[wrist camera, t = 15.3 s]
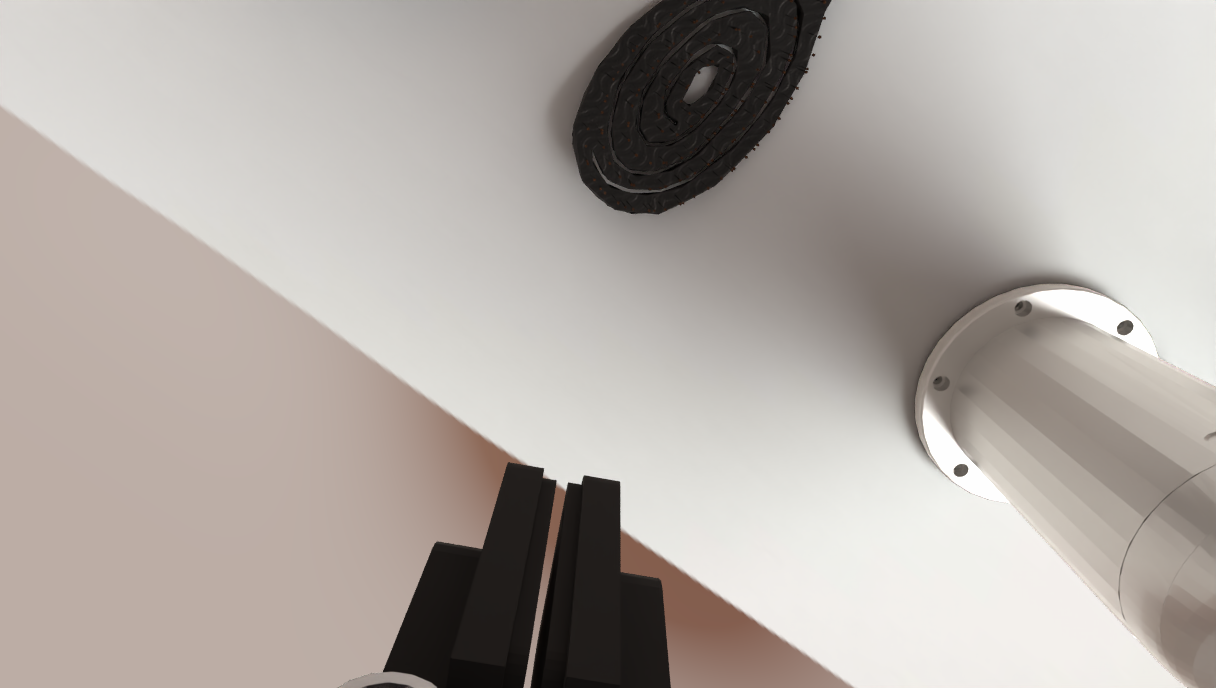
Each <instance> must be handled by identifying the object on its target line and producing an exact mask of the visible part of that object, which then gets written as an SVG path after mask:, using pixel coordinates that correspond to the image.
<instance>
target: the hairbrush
mask: <svg viewBox="0 0 1216 688" xmlns="http://www.w3.org/2000/svg"><path fill="white" fill-rule="evenodd" d="M696 1H698V0H663V1H662V2H660V3H659V4H658V5H656V6H655V7H654V8H652V9H651V10H650V11H649V12H647V13H646V14H645V15H644V16H643V17H641V18H640V19H639V20H638V21H636V22H635V23H634V24H633V25H632V26H631V27H630V28H629V29H628V30H627V31H626V32H625V33H624V35H623V36H622V37H621V38H620V39H619V41H618V42H617V43H616V45H615V46H614V47H613V49H612V50H611V51H610V53H609V54H608V55H607V56H606V58H605V59H604V60H603V61H602V62H601V63H600V65H599V66H598V69H597V70H596V72H595V74H594V76H593V78H592V80H591V82H590V83H589V85H588V87H587V89H586V91H585V93H584V96H583V99H582V102H581V104H580V107H579V110H578V113H577V116H576V119H575V122H574V125H573V133H572V136H573V143H572V144H573V148H574V152H575V156H576V160H577V164H578V168H579V172H580V175H581V178H582V181H583V182H584V183H585V185H586V186H587V187H588V188H589V189H590V190H591V191H592V192H593V193H594V194H595V195H596V196H597V197H598V198H599V199H600V200H602V201H603V202H605V203H606V204H607V206H610V207H612V208H613V209H615V210H619V211H625V212H628V213H631V214H637V213H649V214H660V213H662V212H664V211H667V210H669V209H671V208H673V207H675V206H677V205H682V204H684V202H686V201H688V200H690V199H691V198H693V197H694V198H695V196H697V195H699V194H701V193H703V192H704V191H706V190H709V189H710V188H712V187H714V186H715V185H716V184H717V183H718V182H720V181H721V180H722V179H723V178H724V177H725V176H726V175H727V174H728V173H729V172H730V171H732V172H733V170H735V169H736V168H735V166H736V165H737V164H738V163H739V162H740V161H741V160H742V159H743V158H744V157H745V158H746V159H747V158H748V156H746V155H747V154H748V153H749V152H750V151H751V150H752V149H753V150H754V151H755V148H754V146H755V145H756V146H759V144H757V143H758V142H759V141H760V140H761V139H762V138H763V137H764V136H765V135H766V134H767V133H770V130H771V129H772V128H773V127H774V125H775V123H776V121H777V119H778V120H781V118H780V117H779V116H780V114H781V112H782V111H783V109H784V107H785V105H786V104H787V105H789V104H790V103H789V102H788V100H789V99H791V100H793V98H792V97H791V95H792V93H793V92H794V90H795V88H796V90H797V89H798V90H799V87H797V85H798V83H799V82H800V80H801V78H802V76H803V75H804V73H806V74H807V73H808V71H805V70H809V69H808V68H806V67H807V64H808V61H809V58H810V55H811V52H812V49H813V46H814V43H815V40H816V37H817V34H818V31H819V28H820V25H821V22H822V19H826V17H824V18H823V16H824V13H825V11H826V9H827V7H828V6H829V4H830V2H831V0H794V1H793V0H709V1H707V2H705V3H703V4H701V5H699V6H697V7H695V8H693V9H691V10H690V11H688V12H687V13H686V14H685V15H683V16H682V17H681V18H679V19H678V20H677V21H676V22H675V23H673V24H672V25H671V26H670V27H668V28H667V29H666V30H665V31H664V32H662V33H661V34H660V35H659V36H658V37H657V38H656V39H655V40H654V41H652V42H651V43H650V44H649V46H648V47H647V48H646V49H645V51H644V52H643V53H642V54H641V56H640V57H639V58H638V60H637V61H636V63H635V64H634V66H633V67H632V69H631V70H630V72H629V74H628V76H627V78H626V80H625V82H624V84H623V86H622V87H621V90H620V92H619V95H618V99H617V102H616V105H615V110H614V115H613V120H612V128H611V137H612V148H613V150H614V151H615V154H616V157H617V159H618V160H619V161H620V162H621V163H622V164H623V165H624V166H625V167H627V168H628V169H630V170H640V171H657V170H659V169H662V168H664V167H666V166H669V165H671V164H674V163H676V162H678V161H680V160H682V159H684V158H687V157H689V156H691V155H692V154H693V153H694V152H695V151H697V149H698V148H699V147H700V145H701V144H702V143H703V142H704V141H705V140H706V139H707V140H709V142H708V143H707V144H706V145H705V147H703V148H702V149H701V150H700V151H699V152H698V153H697V154H696V155H695V156H693V157H692V158H690V159H688V160H686V161H684V162H682V163H680V164H678V165H675V166H673V167H671V168H669V169H667V170H665V171H663V172H660V173H657V174H651V175H643V174H634V173H630V172H628V171H626V170H625V169H623V168H622V167H620V166H619V165H618V164H617V163H615V162H614V160H613V157H612V153H611V148H610V144H609V140H608V124H609V119H610V115H611V111H612V107H613V103H614V99H615V94H616V91H617V89H618V87H619V84H620V82H621V80H622V78H623V76H624V74H625V72H626V70H627V68H628V67H629V65H630V64H631V63H632V61H633V60H634V58H635V57H636V56H637V54H638V53H639V52H640V50H641V49H642V47H643V46H644V45H645V44H646V43H647V41H648V39H649V38H650V37H651V36H653V35H654V34H655V33H656V32H657V31H658V30H659V29H660V28H661V27H662V26H664V25H665V24H666V23H667V22H669V21H670V20H671V19H672V18H673V17H675V16H676V15H677V14H678V13H680V12H681V11H682V10H683V9H685V8H686V7H687V6H689V5H691V4H692V3H694V2H696ZM741 8H746V9H749V10H753V11H756V12H759V14H760V13H761V14H762V15H761V14H760V15H761V16H762V17H763V18H764V20H765V21H766V23H767V25H768V27H769V35H768V46H767V54H766V66H765V67H764V69H763V71H762V73H761V75H760V76H759V78H758V80H757V82H756V84H755V86H754V87H753V85H754V83H752V82H753V81H754V79H755V78H756V76H757V75H758V73H759V72H760V70H761V66H762V60H763V54H764V48H765V42H766V35H767V29H768V27H767V26H765V25H764V24H763V23H762V22H761V21H760V20H759V19H758V18H757V17H756V16H755V15H754V14H753V13H752V12H751V11H746V12H740V13H735V14H731V15H728V16H725V17H722V18H719V19H716V20H713V21H710V22H709V23H708V24H707V25H705V26H704V27H703V28H702V29H701V30H699V31H698V32H697V33H696V34H694V35H693V36H692V37H691V38H690V39H689V40H688V41H687V42H686V43H685V44H684V45H683V46H682V47H681V48H680V49H679V50H678V51H677V52H676V53H675V54H674V55H673V56H672V57H671V58H670V59H669V60H668V61H667V62H666V63H665V64H664V65H663V66H662V67H661V69H660V71H659V72H658V74H657V76H656V77H655V79H654V80H653V82H652V83H651V85H650V86H649V88H648V90H647V92H646V93H645V96H644V97H643V103H642V107H641V110H640V128H639V130H640V132H641V133H642V135H643V136H644V138H645V139H646V140H647V141H648V142H651V143H663V142H668V141H673V140H674V139H676V138H677V137H679V136H680V135H681V134H683V133H684V132H685V131H687V130H688V129H689V128H691V127H692V126H693V125H694V124H696V123H697V122H698V121H699V120H700V119H701V118H703V117H704V116H705V113H706V112H707V111H708V110H709V109H710V108H711V106H712V105H713V104H714V103H715V104H717V102H716V101H717V100H718V99H719V97H720V95H721V94H722V95H724V93H722V91H723V89H724V87H725V85H726V84H727V82H728V80H729V78H730V76H731V74H734V75H733V78H732V81H731V83H730V86H729V89H728V88H725V91H727V90H728V91H727V93H726V94H725V95H724V97H723V98H722V99H721V101H720V102H719V103H718V105H717V106H716V107H715V109H713V110H712V113H711V114H709V115H708V117H707V118H706V119H705V120H704V121H703V122H702V123H701V124H700V125H699V126H697V128H696V129H695V130H694V131H691V132H690V133H689V134H688V135H686V136H685V137H683V138H682V139H680V140H679V141H677V142H675V143H673V144H670V145H666V146H649V145H646V144H645V142H644V141H643V139H642V137H641V136H640V134H639V133H638V131H637V129H636V122H637V113H638V109H639V104H640V100H641V96H642V93H643V90H644V88H645V87H646V85H647V83H648V81H649V80H650V78H651V77H652V75H653V74H654V72H655V71H656V69H657V68H658V66H659V64H660V63H661V61H662V60H663V58H664V57H665V56H666V55H667V54H668V53H669V52H670V50H671V49H672V48H674V47H675V46H676V45H677V44H678V43H679V42H680V41H682V40H683V39H684V38H685V37H686V36H687V35H688V34H689V33H691V32H692V31H693V30H694V29H695V28H696V27H697V26H699V25H700V24H701V23H702V22H704V21H706V20H707V19H709V18H711V17H712V16H714V15H716V14H718V13H721V12H724V11H727V10H734V9H741ZM797 19H798V23H799V26H798V27H797ZM797 28H798V33H797ZM797 35H798V36H797ZM796 37H797V38H796ZM817 38H819V39H820V38H821V36H820V35H819V36H818V37H817ZM795 39H796V40H797V47H796V50H795V52H794V51H793V54H790V52H791V50H792V47H793V44H794V42H795ZM709 44H725V45H728V46H730V47H732V50H733V53H734V55H735V58H736V61H737V67H736V70H735V73H734V72H733V65H734V63H733V54H732V53H730V52H729V51H727V50H726V49H724V48H722V47H720V46H718V45H716V46H715V47H713V48H712V49H710V50H709V51H707V52H706V53H704V54H703V55H701V56H700V57H698V58H697V59H695V60H693V61H692V62H691V63H690V64H689V65H688V66H687V68H686V69H685V70H684V71H683V72H682V74H681V75H680V77H679V78H678V80H677V81H676V83H675V84H674V86H673V87H672V88H671V90H670V93H669V96H668V98H667V100H666V102H665V111H666V113H667V115H668V117H669V118H670V119H671V120H673V121H674V122H676V124H673V123H672V122H670V121H669V120H668V119H667V118H665V117H664V116H663V107H664V96H665V93H666V90H667V89H666V88H668V87H669V86H668V85H669V84H670V83H671V82H672V80H673V79H674V78H675V77H676V76H677V74H678V73H679V72H680V71H681V69H682V68H683V67H684V66H685V64H686V63H687V62H688V61H689V60H690V58H691V57H692V56H693V55H694V54H695V53H696V52H697V51H699V50H700V49H702V48H704V47H705V46H707V45H709ZM795 45H796V42H795ZM794 49H795V47H794ZM789 55H790V56H792V55H793V56H792V59H791V60H790V59H789V60H788V58H789ZM812 56H815V54H814V53H813V54H812ZM787 61H788V62H789V61H790V63H789V65H788V67H787V69H786V71H784V68H785V66H786V63H787ZM711 65H714V66H716V67H718V72H717V75H716V76H715V78H714V80H713V82H712V84H711V85H710V87H709V89H708V91H707V93H706V94H705V95H704V96H703V97H701V98H700V99H699V100H698V101H696V102H695V103H693V104H686V103H685V102H684V101H683V98H684V96H685V94H686V92H687V90H688V88H689V86H690V84H691V82H692V80H693V78H694V76H695V74H696V73H697V72H698V74H700V73H701V72H700V71H699V70H700V69H701V68H703V67H706V66H711ZM782 74H784V75H783V77H782V80H781V82H780V84H779V86H778V89H777V91H776V93H775V95H774V96H773V98H772V99H771V101H770V102H769V104H768V105H767V107H766V108H765V110H764V111H763V112H762V114H761V115H760V117H759V118H758V119H757V120H756V122H755V123H754V124H753V125H752V126H751V127H750V129H749V130H748V131H747V132H746V133H745V134H744V136H743V137H742V138H741V139H740V140H739V141H738V142H737V143H736V144H735V145H734V146H733V147H732V148H731V149H730V150H728V151H727V152H726V153H725V154H724V155H723V156H722V157H720V159H719V160H716V161H715V162H714V163H713V164H711V165H710V164H709V162H713V161H714V160H713V159H715V158H716V157H717V156H719V155H720V154H722V152H723V151H724V150H725V149H726V148H727V147H728V146H729V145H730V144H731V143H733V142H734V141H736V138H737V137H738V136H739V135H740V134H741V133H742V132H743V131H744V130H745V129H746V128H747V127H748V126H749V125H750V124H751V123H752V122H753V120H754V119H755V117H756V116H757V114H758V112H759V111H760V109H761V108H762V106H763V105H764V104H766V103H767V101H766V100H767V98H768V97H769V95H770V94H771V92H772V91H775V89H776V88H777V87H775V86H776V84H777V82H778V81H779V79H780V78H781V76H782ZM751 83H752V85H751ZM750 85H751V86H750ZM749 86H750V87H751V88H753V89H752V91H751V93H750V95H749V96H748V98H747V99H746V100H745V101H743V100H742V101H741V102H744V103H743V104H742V105H741V106H740V108H739V109H738V110H737V109H735V110H734V108H735V107H736V106H737V104H738V103H739V101H740V100H741V98H742V97H743V95H744V94H745V92H746V91H747V89H748V88H749ZM733 110H734V111H735V112H736V113H735V114H734V115H733V114H731V113H732V111H733ZM729 115H731V116H733V117H732V118H731V119H730V120H728V122H727V123H726V124H725V125H724V126H723V127H721V126H720V124H721V123H722V122H723V121H724V120H725V119H726V118H727V117H728V116H729ZM719 126H720V127H719ZM718 127H719V128H720V130H719V131H718V132H717V134H716V132H714V131H715V130H716V129H717V128H718ZM713 132H714V133H713ZM712 133H713V134H714V135H715V136H714V138H712V139H711V140H710V139H709V138H708V137H709V136H710V135H711V134H712ZM592 150H593V153H594V155H595V158H596V160H597V162H598V165H599V167H600V169H601V171H602V173H603V174H604V175H605V176H606V178H607V179H608V180H610V181H611V182H613V183H615V184H618V185H620V186H623V187H625V188H628V189H644V190H661V189H663V188H666V187H668V186H670V185H673V184H675V183H677V182H681V181H682V180H684V179H687V178H689V177H691V176H693V175H695V174H697V173H696V172H698V171H699V170H700V169H702V168H703V167H704V166H706V165H708V166H709V167H708V168H706V169H705V170H704V171H702V172H701V173H700V174H699V175H697V176H696V177H695V178H694V179H692V180H691V181H688V182H686V183H684V184H682V185H679V186H676V187H673V188H671V189H668V190H665V191H662V192H653V193H630V192H626V191H622V190H620V189H618V188H616V187H614V186H611V185H609V184H607V183H606V182H605V180H604V179H603V178H602V176H601V175H600V173H599V171H598V169H597V167H596V166H595V164H594V162H593V160H592Z"/></svg>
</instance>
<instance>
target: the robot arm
mask: <svg viewBox="0 0 1216 688" xmlns="http://www.w3.org/2000/svg"><path fill="white" fill-rule="evenodd" d="M1017 303H1019V304H1018V306H1017V307H1015V306H1016V305H1017ZM937 377H939V378H938V379H937V380H936V381H934V380H935V379H936V378H937ZM915 420H916V425H917V429H918V433H919V437H920V440H921V442H922V444H923V446H924V448H925V450H926V452H927V454H928V455H929V457H930V458H931V459H932V460H933V462H934V463H935V464H936V466H937V467H938V468H939V469H940V470H941V471H942V473H943V474H944V475H945V476H946V477H947V478H948V479H949V480H951V481H952V482H953V483H955V484H956V485H958V486H959V487H961V488H963V489H964V490H966V491H967V492H969V493H972V494H974V495H977V496H980V497H982V498H985V499H988V500H994V501H999V502H1005V503H1010V504H1011V505H1012V506H1013V507H1014V508H1015V509H1016V510H1017V511H1018V512H1019V514H1020V515H1021V516H1022V517H1023V518H1024V519H1025V520H1026V521H1027V522H1028V523H1029V524H1030V525H1031V526H1032V528H1033V529H1034V530H1035V531H1036V532H1037V533H1038V534H1039V535H1040V536H1041V537H1042V538H1043V539H1044V540H1045V542H1046V543H1047V544H1048V545H1049V546H1050V547H1051V548H1052V549H1053V550H1054V551H1055V552H1056V553H1057V554H1058V556H1059V557H1060V558H1061V559H1062V560H1063V561H1064V562H1065V563H1066V564H1067V565H1068V566H1069V567H1070V569H1071V570H1072V571H1073V572H1074V573H1075V574H1076V575H1077V576H1078V577H1079V578H1080V579H1081V580H1082V581H1083V583H1084V584H1085V585H1086V586H1087V587H1088V588H1089V589H1090V590H1091V591H1092V592H1093V593H1094V594H1095V595H1096V597H1097V598H1098V599H1099V600H1100V601H1101V602H1102V603H1103V604H1104V605H1105V606H1106V607H1107V608H1108V609H1109V611H1110V612H1111V613H1112V614H1113V615H1114V616H1115V617H1116V618H1117V619H1118V620H1119V621H1120V622H1121V623H1122V625H1123V626H1124V627H1125V628H1126V629H1127V630H1128V631H1129V632H1130V633H1131V634H1132V635H1133V636H1134V637H1135V638H1136V639H1137V640H1138V641H1139V642H1140V643H1141V644H1142V645H1143V647H1144V648H1145V649H1146V650H1147V651H1148V652H1149V653H1150V654H1151V655H1152V656H1153V657H1154V658H1155V659H1156V660H1157V661H1158V663H1159V664H1160V665H1161V666H1162V667H1164V668H1165V669H1166V670H1167V671H1168V672H1169V673H1170V674H1171V675H1172V676H1173V677H1175V678H1176V679H1177V680H1178V681H1179V682H1180V683H1182V684H1183V685H1184V686H1186V687H1187V688H1216V387H1215V386H1213V385H1211V384H1209V383H1207V382H1205V381H1203V380H1201V379H1199V378H1197V377H1195V376H1193V375H1191V374H1189V373H1187V372H1185V371H1183V370H1181V369H1180V368H1178V367H1176V366H1174V365H1172V364H1170V363H1168V362H1166V361H1164V360H1162V359H1160V358H1159V356H1158V353H1157V350H1156V347H1155V345H1154V342H1153V339H1152V336H1151V335H1150V333H1149V332H1148V331H1147V329H1146V328H1145V326H1144V325H1143V323H1142V322H1141V320H1140V319H1139V318H1138V317H1137V316H1135V315H1134V314H1133V313H1132V312H1131V311H1130V310H1129V309H1128V308H1127V307H1125V306H1124V305H1122V304H1120V303H1119V302H1117V301H1115V300H1113V299H1111V298H1109V297H1108V296H1106V295H1103V294H1101V293H1098V292H1096V291H1093V290H1090V289H1088V288H1084V287H1079V286H1073V285H1068V284H1038V285H1032V286H1027V287H1021V288H1017V289H1014V290H1011V291H1009V292H1006V293H1003V294H1000V295H997V296H995V297H993V298H991V299H989V300H988V301H986V302H984V303H982V304H980V305H979V306H977V307H975V308H973V309H972V310H971V311H970V312H968V313H967V314H966V315H965V316H963V317H962V318H961V319H960V320H958V321H957V322H956V323H955V324H954V325H953V326H952V327H951V328H950V329H949V330H948V331H947V332H946V334H945V335H944V336H943V337H942V338H941V339H940V340H939V342H938V343H937V345H936V346H935V348H934V349H933V351H932V353H931V354H930V356H929V357H928V359H927V361H926V363H925V366H924V368H923V371H922V373H921V376H920V378H919V382H918V387H917V392H916V397H915ZM543 472H544V468H538V467H533V466H527V465H521V464H515V463H510V462H509V463H508V464H507V467H506V471H505V474H504V477H503V481H502V484H501V487H500V491H499V494H498V498H497V501H496V504H495V508H494V511H493V515H492V518H491V522H490V525H489V528H488V532H487V535H486V539H485V542H484V545H483V549H478V548H473V547H467V546H461V545H454V544H449V543H443V542H436V543H435V544H434V547H433V548H432V551H431V553H430V556H429V558H428V561H427V563H426V566H425V568H424V571H423V573H422V576H421V578H420V581H419V583H418V586H417V588H416V590H415V593H414V595H413V598H412V601H411V603H410V605H409V608H408V611H407V613H406V615H405V618H404V620H403V623H402V626H401V628H400V630H399V633H398V635H397V638H396V640H395V643H394V645H393V648H392V650H391V653H390V655H389V658H388V660H387V663H386V665H385V668H384V670H383V673H371V674H368V675H364V676H361V677H358V678H355V679H352V680H349V681H348V682H346V683H344V684H343V685H341V686H340V687H338V688H523V687H524V682H525V676H526V670H527V664H528V658H529V652H530V646H531V640H532V634H533V627H534V621H535V614H536V608H537V602H538V595H539V589H540V582H541V577H542V570H543V564H544V558H545V551H546V545H547V538H548V532H549V526H550V519H551V513H552V507H553V500H554V494H555V488H556V480H551V479H545V478H543ZM531 688H671V685H670V674H669V662H668V650H667V639H666V626H665V615H664V603H663V591H662V584H661V580H660V579H659V578H653V577H647V576H640V575H635V574H628V573H623V572H620V482H619V481H614V480H608V479H602V478H596V477H591V476H585V475H584V477H583V481H582V485H580V484H574V483H568V485H567V490H566V495H565V501H564V506H563V511H562V516H561V521H560V527H559V532H558V537H557V542H556V547H555V553H554V558H553V563H552V568H551V573H550V578H549V584H548V589H547V594H546V599H545V604H544V610H543V615H542V620H541V625H540V631H539V637H538V642H537V648H536V654H535V661H534V667H533V675H532V681H531Z"/></svg>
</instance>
